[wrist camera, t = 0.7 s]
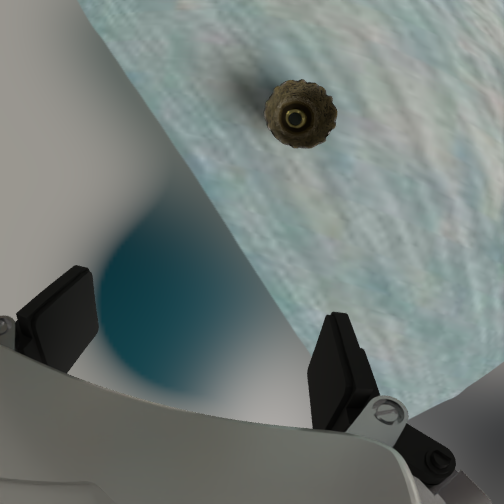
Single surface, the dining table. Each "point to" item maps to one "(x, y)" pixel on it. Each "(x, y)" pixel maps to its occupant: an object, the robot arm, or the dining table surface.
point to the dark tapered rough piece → (300, 113)
